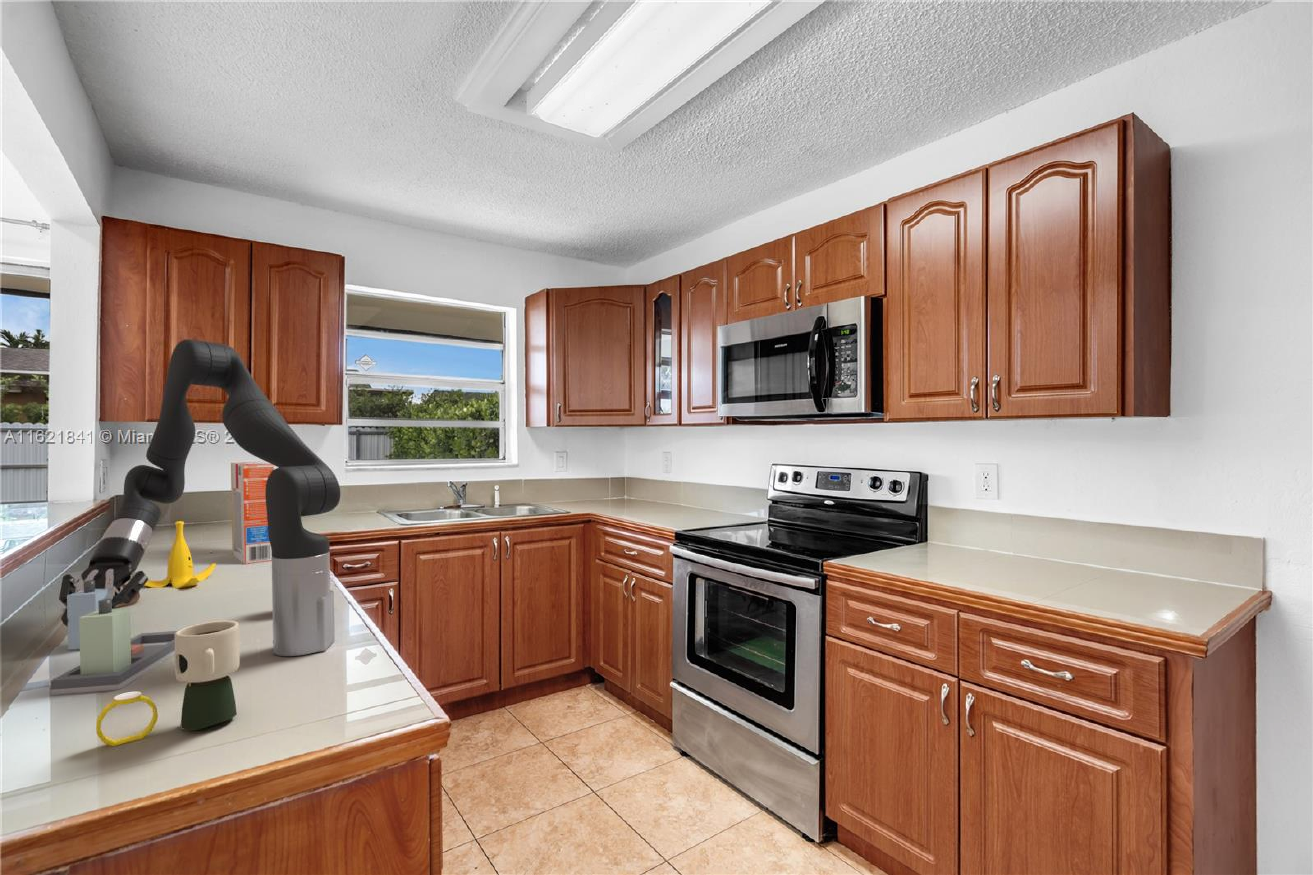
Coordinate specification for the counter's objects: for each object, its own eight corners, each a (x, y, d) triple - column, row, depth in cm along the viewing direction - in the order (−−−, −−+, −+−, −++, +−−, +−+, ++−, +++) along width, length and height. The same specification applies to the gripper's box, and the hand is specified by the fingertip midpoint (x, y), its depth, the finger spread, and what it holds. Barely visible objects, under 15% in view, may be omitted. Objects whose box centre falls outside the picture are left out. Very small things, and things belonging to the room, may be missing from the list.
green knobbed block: (131, 668, 104) (129, 595, 104) (113, 678, 100) (112, 603, 100) (99, 670, 104) (98, 597, 103) (80, 681, 99) (78, 604, 99)
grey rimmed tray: (195, 641, 120) (195, 625, 120) (119, 689, 98) (118, 670, 98) (141, 645, 119) (141, 629, 119) (50, 695, 96) (50, 675, 96)
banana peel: (217, 575, 178) (216, 515, 178) (196, 590, 161) (195, 524, 160) (144, 580, 172) (143, 519, 172) (115, 597, 154) (113, 529, 154)
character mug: (176, 716, 88) (174, 623, 88) (237, 703, 92) (236, 614, 92) (176, 747, 79) (173, 644, 79) (243, 730, 84) (241, 632, 84)
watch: (154, 732, 84) (157, 686, 85) (156, 739, 82) (160, 693, 83) (94, 744, 80) (98, 696, 80) (95, 752, 78) (99, 703, 78)
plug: (112, 640, 121) (110, 577, 121) (96, 648, 117) (95, 583, 117) (85, 642, 120) (83, 579, 120) (68, 650, 116) (66, 584, 116)
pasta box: (275, 560, 197) (273, 464, 197) (244, 564, 192) (242, 465, 191) (261, 550, 214) (259, 461, 214) (232, 554, 209) (230, 462, 208)
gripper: (72, 537, 124) (25, 616, 113) (155, 533, 127) (118, 610, 115) (91, 558, 130) (48, 636, 118) (170, 555, 132) (136, 630, 121)
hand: (83, 623), depth 117 cm, fingers closed on plug, 4 cm apart
